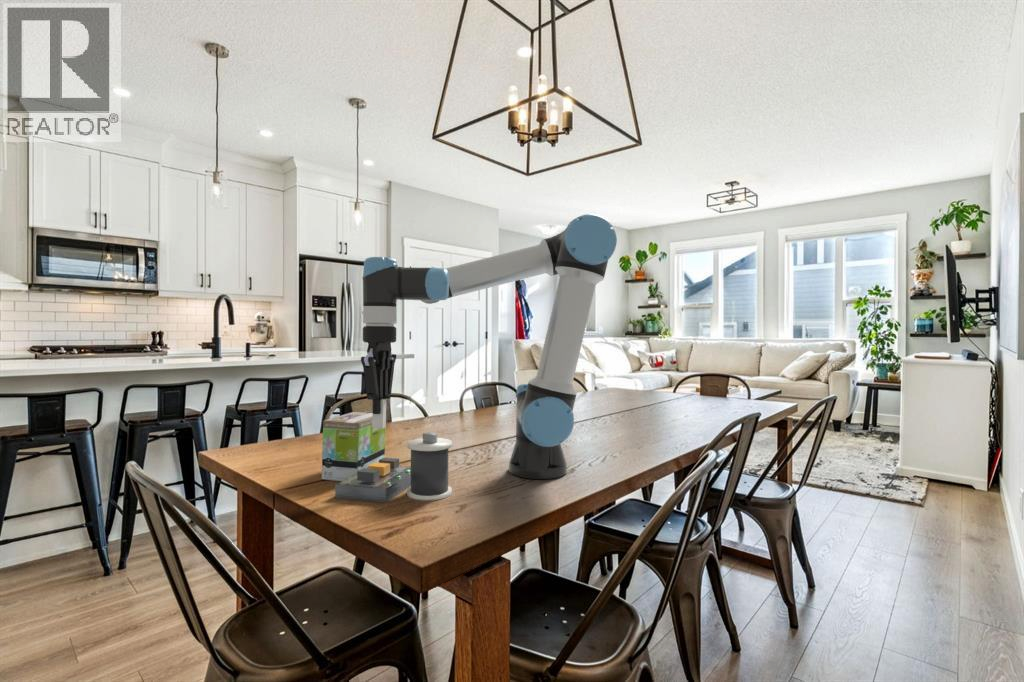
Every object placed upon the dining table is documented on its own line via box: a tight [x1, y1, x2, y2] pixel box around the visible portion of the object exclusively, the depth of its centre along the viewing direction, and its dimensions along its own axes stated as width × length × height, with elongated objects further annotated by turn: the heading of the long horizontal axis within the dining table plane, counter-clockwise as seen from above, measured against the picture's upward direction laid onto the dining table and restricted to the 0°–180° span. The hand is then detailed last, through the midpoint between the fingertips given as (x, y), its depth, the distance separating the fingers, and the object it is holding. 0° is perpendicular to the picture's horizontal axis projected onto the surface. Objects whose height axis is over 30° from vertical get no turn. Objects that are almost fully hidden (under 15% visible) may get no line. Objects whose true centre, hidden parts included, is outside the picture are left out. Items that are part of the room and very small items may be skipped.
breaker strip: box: [334, 466, 411, 504], centre depth 120 cm, size 12×17×3 cm
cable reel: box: [406, 431, 453, 502], centre depth 117 cm, size 10×10×14 cm
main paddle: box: [368, 462, 390, 476], centre depth 120 cm, size 4×3×2 cm
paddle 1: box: [357, 468, 379, 482], centre depth 115 cm, size 4×3×2 cm, turn 77°
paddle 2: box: [379, 457, 400, 470], centre depth 125 cm, size 4×3×2 cm, turn 77°
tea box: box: [321, 411, 386, 482], centre depth 132 cm, size 15×10×15 cm, turn 168°
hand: (379, 427), depth 120 cm, fingers closed
